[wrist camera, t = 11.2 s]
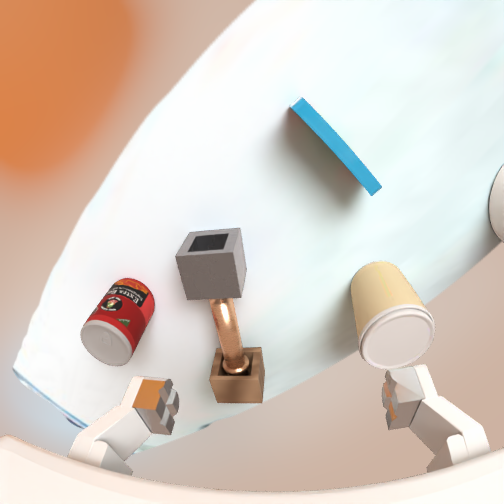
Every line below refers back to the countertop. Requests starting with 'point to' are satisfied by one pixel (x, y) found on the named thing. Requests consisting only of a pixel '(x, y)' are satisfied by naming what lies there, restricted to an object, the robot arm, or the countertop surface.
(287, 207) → the countertop surface
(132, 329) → the canned food
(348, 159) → the blue thin box
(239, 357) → the tube
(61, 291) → the countertop surface
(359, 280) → the coffee cup
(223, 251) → the sleeve
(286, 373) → the countertop surface
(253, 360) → the socket
